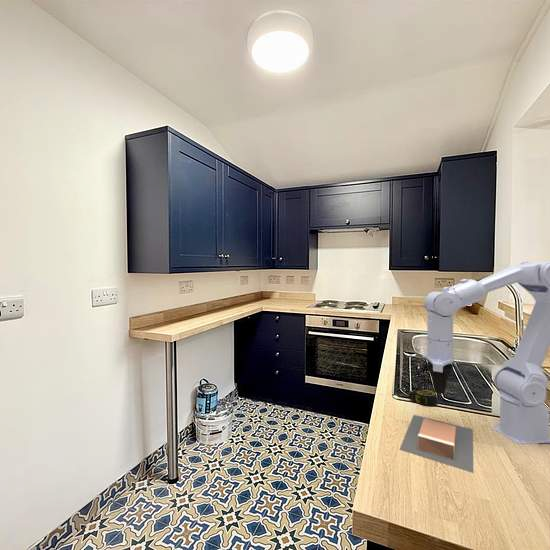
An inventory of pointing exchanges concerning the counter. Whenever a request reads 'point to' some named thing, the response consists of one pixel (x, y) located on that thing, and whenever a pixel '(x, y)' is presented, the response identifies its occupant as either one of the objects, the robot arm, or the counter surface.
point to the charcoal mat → (461, 456)
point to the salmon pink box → (437, 438)
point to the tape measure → (423, 397)
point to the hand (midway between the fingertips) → (439, 392)
